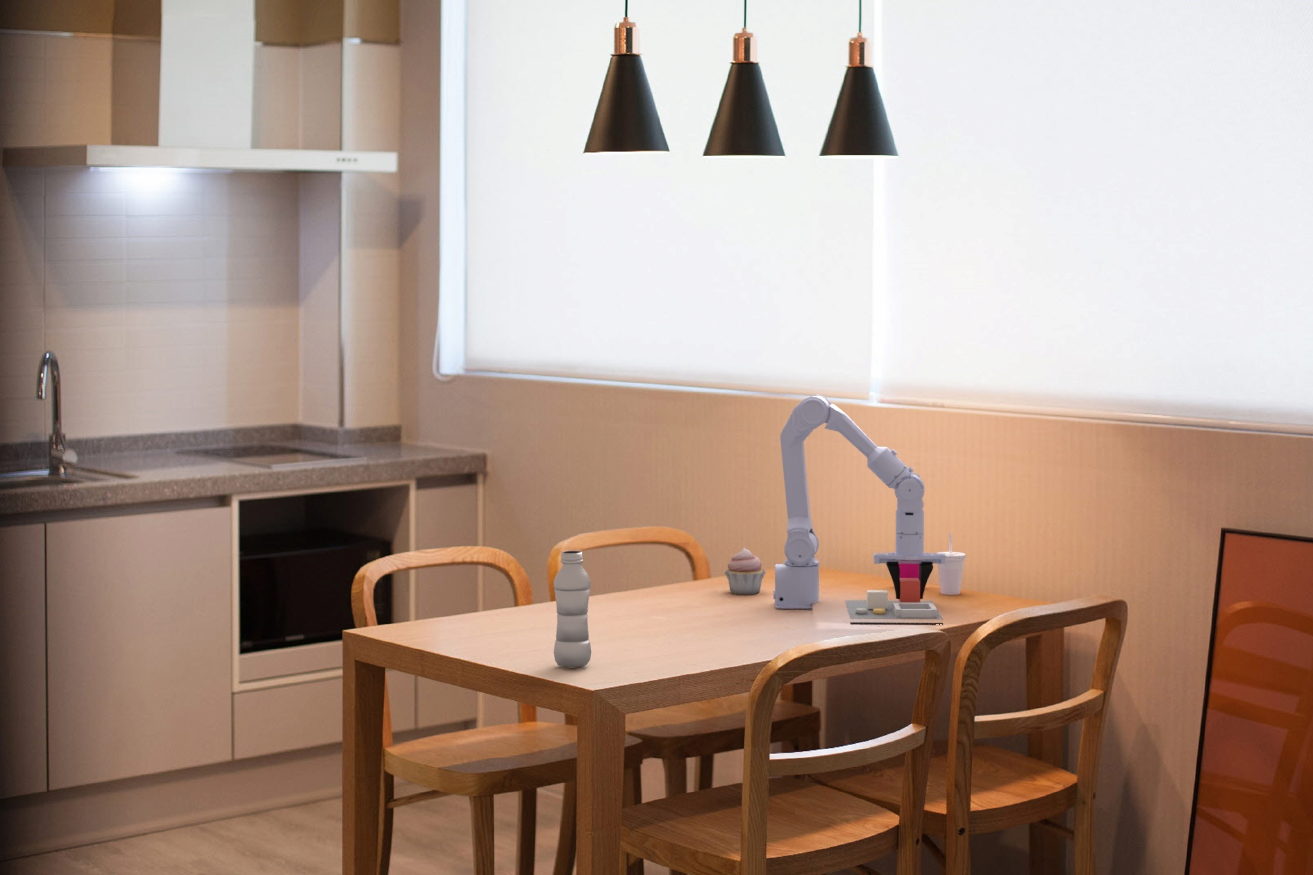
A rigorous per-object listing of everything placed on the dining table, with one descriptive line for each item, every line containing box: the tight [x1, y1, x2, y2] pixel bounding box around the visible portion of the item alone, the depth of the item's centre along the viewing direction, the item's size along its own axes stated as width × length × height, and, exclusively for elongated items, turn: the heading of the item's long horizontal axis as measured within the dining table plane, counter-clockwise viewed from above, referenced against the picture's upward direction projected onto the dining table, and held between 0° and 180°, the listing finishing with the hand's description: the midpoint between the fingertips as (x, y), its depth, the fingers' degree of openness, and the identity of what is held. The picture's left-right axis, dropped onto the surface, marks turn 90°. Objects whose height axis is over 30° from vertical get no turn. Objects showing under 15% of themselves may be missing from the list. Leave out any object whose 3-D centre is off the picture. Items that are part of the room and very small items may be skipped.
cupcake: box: [723, 546, 767, 595], centre depth 338 cm, size 9×9×10 cm
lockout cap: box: [898, 578, 921, 603], centre depth 317 cm, size 4×4×5 cm
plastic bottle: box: [553, 550, 592, 668], centre depth 265 cm, size 6×7×20 cm
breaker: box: [866, 589, 889, 609], centre depth 312 cm, size 4×2×3 cm, turn 86°
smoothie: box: [937, 532, 967, 596], centre depth 329 cm, size 6×6×14 cm
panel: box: [844, 599, 944, 626], centre depth 311 cm, size 18×20×3 cm
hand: (909, 598), depth 317 cm, fingers closed on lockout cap, 4 cm apart
